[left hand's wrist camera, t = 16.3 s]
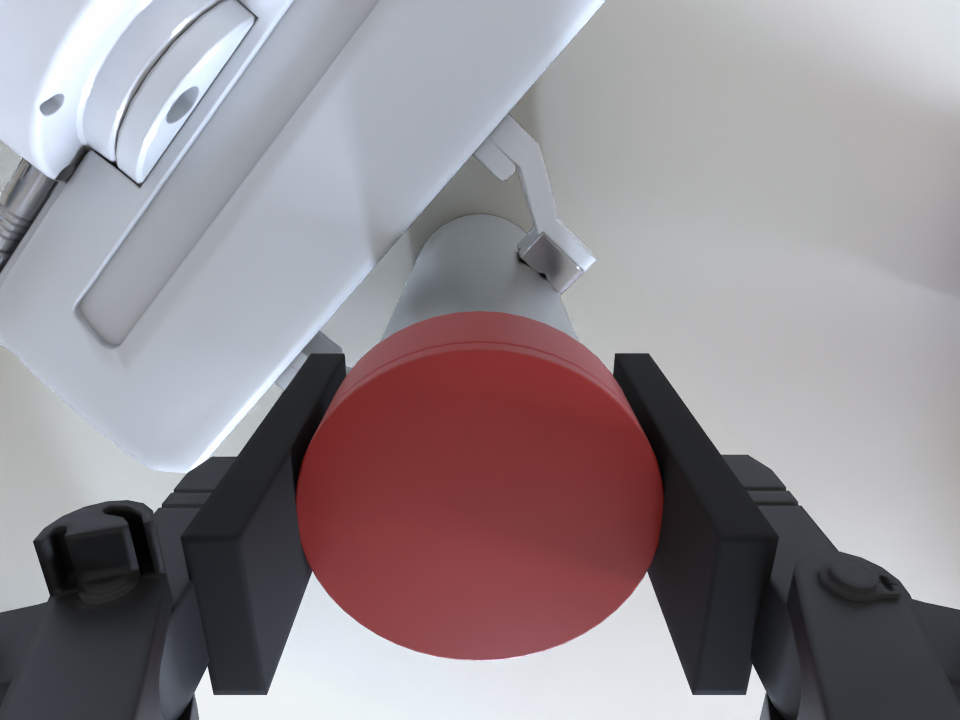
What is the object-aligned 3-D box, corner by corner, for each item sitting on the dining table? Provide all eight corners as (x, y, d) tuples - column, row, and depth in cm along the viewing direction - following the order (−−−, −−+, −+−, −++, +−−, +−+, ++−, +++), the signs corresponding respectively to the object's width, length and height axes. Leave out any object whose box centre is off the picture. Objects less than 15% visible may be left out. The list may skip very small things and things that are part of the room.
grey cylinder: (544, 210, 25) (641, 349, 10) (545, 339, 27) (626, 614, 12) (409, 216, 25) (305, 364, 10) (419, 344, 27) (345, 623, 12)
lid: (259, 460, 12) (219, 523, 10) (478, 238, 11) (478, 265, 9) (480, 630, 14) (481, 711, 12) (701, 459, 12) (741, 521, 10)
